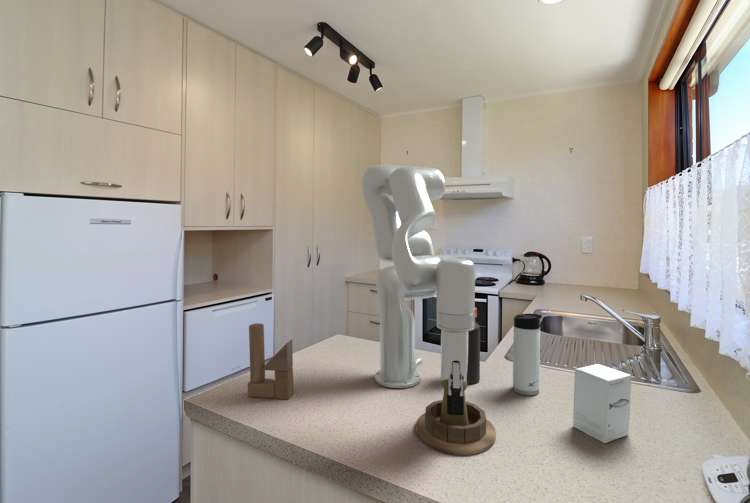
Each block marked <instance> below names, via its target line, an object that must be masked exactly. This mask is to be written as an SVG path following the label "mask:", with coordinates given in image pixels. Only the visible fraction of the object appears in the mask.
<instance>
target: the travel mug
mask: <svg viewBox="0 0 750 503" xmlns="http://www.w3.org/2000/svg"><path fill="white" fill-rule="evenodd" d="M542 318H543V315H542V314H537V313H520V314H516V315H515V316H513V322H514V323H513V337H512V340H513V343H512V344H513V345H512V347H513V348H512V349H513V350H512V352H513V353H512V391H514V392H516V393H517V394H519V395H523V396H531V397H532V396H535V395H538V394H539V393H540V360H541V358H540V356H541V354H540V351H541V349H540V348H541V325H540V324H541V319H542Z"/></svg>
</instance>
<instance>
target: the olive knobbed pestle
mask: <svg viewBox="0 0 750 503" xmlns="http://www.w3.org/2000/svg"><path fill="white" fill-rule="evenodd" d="M450 379H453V376H451V375H450ZM460 379H461V376H460ZM440 382H441V386H442V389H443V394H442V400H443V401H442V409H441V416H440V422H442V423H445V424H448V425H456V426H466V425H469V423H468V415H467V407H466V402H467V399H466V393H465V391H466V390H467V388H468V384H467V379H466V381H464V382H463V395H464V414H463V415H462V416H461V415H449V414H447V394H448V380H444V381H443V380H442V379H441V381H440ZM452 385H453V382H451V386H452Z"/></svg>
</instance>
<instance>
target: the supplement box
mask: <svg viewBox="0 0 750 503" xmlns="http://www.w3.org/2000/svg"><path fill="white" fill-rule="evenodd" d="M631 380H632V374H629V373H626V372H624V371H620V370H618V369H615V368H611V367H608V366H606V365H603V364H599V363H595V364H591V365H587V366H582V367H578V368H575V369H574V383H573V384H574V385H573V386H574V387H573V415H572V426H573V427H574V428H575V429H577V430H579V431H581V432H582V433H584V434H586V435H588V436H589V437H592V438H594V439H595V440H597V441H600V442H601V443H603V444H608V443H609V442H612V441H614V440H618V439H620V438H623V437H627V436H629V435H630V433H629V432H630V414H631V413H630V411H631V390H632V389H631V387H632V381H631Z"/></svg>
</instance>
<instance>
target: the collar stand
mask: <svg viewBox="0 0 750 503" xmlns="http://www.w3.org/2000/svg"><path fill="white" fill-rule="evenodd" d="M442 401H443V399H439V400H434V401H432V402H431V403H430V404H428V405H426V407H425V412H424V413H422V414H421V415H420V416H419V417H418V419H417V420H416V422H415V433H416V435H417V438H418V439H419V440H420V442H422V443H423V444H424V445H425V446H427V447H429V448H430V449H433V450H435V451H438V452H439V453H444V454H448V455H454V456H473V455H477V454H481V453H485V452H486V451H489V450H491V448H492V447H493V446H494V444H496V443H495V442H496V441H497V440H496V439H497V431H496V428H495V426H494V425H493V423H491V421H489V420H488V419H487V416H486V412H485V410H483V409H482V408H481V407H479V406H478V405H477V404H475V403H472V402H469V401H466V407H467V415H468V423H469V425H466V426H456V425H448V424H445V423H442V422H440V416H441V409H442Z"/></svg>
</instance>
